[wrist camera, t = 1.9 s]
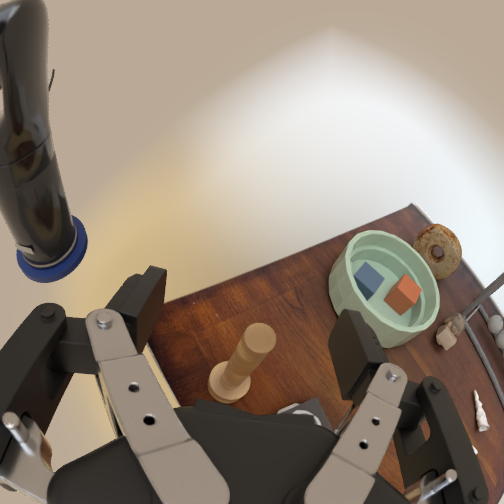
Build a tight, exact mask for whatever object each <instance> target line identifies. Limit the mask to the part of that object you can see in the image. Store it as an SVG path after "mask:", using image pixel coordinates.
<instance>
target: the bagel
mask: <svg viewBox="0 0 504 504" xmlns="http://www.w3.org/2000/svg"><path fill="white" fill-rule="evenodd" d="M435 246H439V247H441V248H442V250H443V255H442V256H441V257H438V256H436V255H435V254H434V250H433V249H434V247H435ZM413 249H414V250H416V251H417V252H418V253H419V254H420V255H421V257H422V258H423V259H424V261H425V262H426V263H427V265H428V266H429V268H430V270H431V272H432V274H433V276H434V278H435V279H436V280H440V279H445V278H447V277H448V276H450V275H451V274H452V273H453V272H454V271H455V270H456V269H457V267H458V265H459V263H460V260H461V256H462V250H461V245H460V243H459V240H458V238H457V237H456V236H455V234H454V233H453V232H452V231H451V230H449V229H448V228H446V227H445V226H442V225H440V224H433V225H430V226H427V227H426V228H425V229H424V230H423V231H422V232H421V233H420V234H419V235H418V236H417V238H416V240H415V242H414V245H413Z"/></svg>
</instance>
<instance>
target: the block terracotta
mask: <svg viewBox="0 0 504 504" xmlns="http://www.w3.org/2000/svg"><path fill="white" fill-rule="evenodd" d="M421 291H422V289H421V288H420V287H419V286H418V285H417V284H416V283H415V282H414V281H413V280H412V279H411V278H410V277H409V276H407V275H406V274H404V275H403V276H402V277H401V278H400V279H399V280H398V281H397V282H396V283H395V284H394V285H393V286H392V287H391V289H390V291H389V292H388V294H387V295H386V297H385V299H384V301H385V302H386V303H387V304H388V305H389V306H390V307H391V308H392V309H393V310H394V311H395V312H396V313H398V314H399V315H400V316H401V315H402V314H404V313H405V312H406V311H407V310H409V309H410V308H411V307H412V306H413V305H415V303H416V301H417V299H418V297H419V295H420V293H421Z"/></svg>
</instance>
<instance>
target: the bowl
mask: <svg viewBox="0 0 504 504" xmlns="http://www.w3.org/2000/svg"><path fill="white" fill-rule="evenodd" d="M365 261H366V262H367V263H368V264H369V265H370V266H372V267H373V268H374V269H375V270H376V271H377V272H378V273H379V274H381V275H382V276H383V277H384V278H385V279H384V281H383V282H382V284H381V285H380V287H379V288H378V289H377V291H376V292H375V294H374V295H373V296H372V297H371V298H370V299H369V300H368V301H367V300H366V299H365V297H364V296H363V295H362V293H361V292H360V290H359V289H358V287H357V284H356V281H355V279H354V274H355V273H356V272H357V271H358V270H359V268H360V267H361V266H362V265H363V264H364V262H365ZM404 274H406V275H407V276H409V277H410V278H411V279H412V280H413V281H414V282H415V283H416V284H417V285H418V286H419V287H420V288H421V289H422V291H421V293H420V295H419V297H418V299H417V301H416V303H415V305H413V306H412V307H411V308H410V309H409V310H407V311H406V312H405V313H404V314H402V315H401V316H400V315H399V314H398V313H396V312H395V311H394V310H393V309H392V308H391V307H390V306H389V305H388V304H387V303H386V302H385V301H384V299H385V297H386V295H387V294H388V292H389V291H390V289H391V287H392V286H393V285H394V284H395V283H396V282H397V281H398V280H399V279H400V278H401V277H402V276H403V275H404ZM329 295H330V298H331V301H332V304H333V307H334V310H335V311H336V313H337V314H338V316H339V315H340V313H341V311H342V310H343V309H350V310H355V311H359V312H360V313H361V315H362V317H363V319H364V321H365V323H367V324H368V325H369V326H370V327H371V328H372V329H373V330H374V331H375V333H376V335H377V337H378V338H377V339H378V340H379V342H380V345H381V346H382V347H383V348H393V347H396V346H400V345H403V344H404V343H406V342H407V341H409V340H411V339H412V338H414V337H415V336H417V335H418V334H419V333H421V332H422V331H424V330H425V329H427V328H428V327H429V326H430V325H431V324H432V323H433V322H434V321H435V318H436V316H437V313H438V311H439V291H438V287H437V283H436V280H435V278H434V276H433V274H432V272H431V270H430V268H429V266H428V265H427V263H426V262H425V261H424V259H423V258H422V257H421V255H420V254H419V253H418V252H417V251H416V250H414V249H413V248H412V247H411V246H410V245H409V244H408V243H406V242H405V241H403V240H402V239H400V238H398V237H397V236H395V235H392V234H389V233H386V232H383V231H375V230H368V231H365V232H362V233H359V234H357V235H356V236H355V237H354V238H353V239H352V240H351V241H350V242H349V243H348V245H347V246H346V247H345V249H344V250H343V252H342V253H341V254H340V256H339V257H338V259H337V260H336V261H335V263H334V264H333V266H332V269H331V272H330V275H329Z"/></svg>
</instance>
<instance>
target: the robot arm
mask: <svg viewBox="0 0 504 504" xmlns="http://www.w3.org/2000/svg"><path fill="white" fill-rule="evenodd" d="M48 21H49V19H48V12H47V7H46V5H45V2H44V1H43V0H11V1H9V2H6V3H3V4H1V5H0V90H2V94H3V110H2V111H1V112H0V212H1V214H2V216H3V218H4V220H5V222H6V224H7V226H8V228H9V230H10V232H11V234H12V236H13V238H14V240H15V242H16V244H15V245H16V247H17V249H18V250H20V251H21V253H22V255H23V257H24V259H25V261H26V262H27V264H28V265H30V266H31V267H33V268H35V269H39V270H46V269H50V268H53V267H56V266H58V265H60V264H61V263H63V262H64V261H65V260H66V259H67V258H68V257H69V256H70V255H71V254H72V252H73V251H74V249H75V247H76V244H77V240H78V233H77V230H76V227H75V224H74V223H73V219H72V216H71V213H70V209H69V206H68V202H67V199H66V195H65V192H64V188H63V184H62V180H61V176H60V172H59V168H58V163H57V159H56V154H55V150H54V146H53V140H52V134H51V129H50V122H49V91H50V88H51V84H52V81H53V77H54V71H55V70H53V73H52V78H51V81H50V84H49V87H48V67H47V63H48V59H47V58H48V34H49V22H48ZM166 277H167V270H166V269H162V268H158V267H154V266H149V268H148V269H147V270H146V272H145V273H144V274H143V275H140V274H135V275H133V276H131V277H129V278H127V280H126V281H125V282H124V283H123V286H121V287H120V289H119V290H118V292H117V293H116V294H115V295H114V296H113V298H112V299H111V300H110V302H109V303H108V304H107V306H106V307H105V308H104V309H97V310H94V311H92V312H90V313H89V314H88V315H87V317H86V318H73V317H66V315H65V310H64V309H63V307H61V306H60V305H58V304H55V303H44V304H41V305H39V306H37V307H36V308H35V309H34V310H33V311H32V312H31V313H30V315H29V316H28V317H27V318H26V319H25V320H24V321H23V323H22V324H21V325H20V326H19V327H18V329H17V330H16V331H15V332H14V334H13V335H12V336H11V338H10V339H9V340H8V341H7V343H6V344H5V345H4V347H3V348H2V349H1V350H0V485H1V486H2V487H3V488H5V489H7V490H9V491H19V492H20V493H22V494H24V495H26V496H28V497H29V498H31V499H33V500H35V501H37V502H39V503H41V504H487V503H488V499H489V492H488V489H487V485H486V482H485V479H484V476H483V473H482V471H481V468H480V465H479V462H478V460H477V457H476V454H475V452H474V449H473V447H472V444H471V442H470V439H469V437H468V434H467V432H466V430H465V427H464V425H463V423H462V420H461V418H460V416H459V414H458V411H457V409H456V407H455V405H454V403H453V401H452V399H451V396H450V394H449V392H448V390H447V388H446V386H445V385H444V384H443V383H442V382H441V381H440V380H439V379H437V378H435V377H432V376H428V377H425V378H424V379H423V381H422V382H421V383H420V384H418V383H415V382H412V381H408V380H407V375H406V374H405V372H404V371H403V370H402V369H401V368H400V367H398V366H397V365H395V364H392V363H389V361H388V358H387V356H386V354H385V352H384V350H383V348H382V346H381V345H380V342H379V340H378V339H377V338H378V337H377V335H376V333H375V331H374V330H373V329H372V328H371V327H370V326H369V325H368V324H367V323H365V321H364V319H363V317H362V315H361V313H360V312H359V311H355V310H350V309H343V310H342V311H341V313H340V315H339V318H338V320H337V322H336V324H335V326H334V328H333V330H332V332H331V334H330V337H329V342H328V346H329V350H330V354H331V358H332V361H333V365H334V369H335V373H336V376H337V380H338V384H339V388H340V392H341V396H342V400H353V405H352V406H351V407H350V408H349V410H348V412H347V413H346V415H345V416H344V418H343V419H342V421H341V422H340V424H339V425H338V427H337V428H336V430H335V431H334V432H332V431H331V430H329V429H327V428H325V427H323V426H320V425H318V424H315V419H314V415H305V414H293V413H281V414H271V415H253V414H250V413H248V412H245V411H242V410H239V409H237V408H234V407H232V406H229V405H226V404H222V403H216V402H211V401H207V400H202V399H197V398H196V400H195V404H194V406H187V407H178V408H174V409H173V408H172V407H171V405H170V403H169V401H168V399H167V397H166V396H165V394H164V392H163V390H162V389H161V386H160V385H159V383H158V381H157V379H156V377H155V375H154V373H153V371H152V369H151V367H150V365H149V363H148V361H147V359H146V357H145V356H144V354H142V352H143V350H144V347H145V345H146V343H147V341H148V339H149V337H150V335H151V332H152V330H153V328H154V326H155V324H156V322H157V320H158V318H159V316H160V314H161V311H162V308H163V304H164V297H165V286H166ZM74 373H83V374H94V375H95V378H96V382H97V385H98V387H99V391H100V394H101V396H102V400H103V403H104V405H105V408H106V411H107V414H108V417H109V420H110V423H111V426H112V429H113V431H114V434H115V436H116V439H114V440H113V441H111V442H109V443H107V444H105V445H103V446H102V447H100V448H98V449H96V450H94V451H92V452H90V453H88V454H86V455H84V456H82V457H80V458H78V459H76V460H74V461H72V462H70V463H68V464H66V465H64V466H62V467H61V468H60V469H58V470H57V471H56V472H53V471H52V468H51V457H52V449H51V446H50V444H49V442H48V441H47V439H46V438H45V433H46V431H47V429H48V427H49V424H50V422H51V420H52V418H53V415H54V413H55V411H56V409H57V406H58V405H59V403H60V401H61V398H62V396H63V394H64V392H65V390H66V388H67V386H68V384H69V382H70V380H71V378H72V376H73V374H74ZM426 419H427V422H428V425H429V427H430V437H429V439H428V440H427V442H426V441H425V438H424V435H423V432H422V429H421V426H420V425H421V424H422V423H423V422H424V421H425V420H426ZM392 436H393V440H394V444H395V448H396V452H397V456H398V460H399V464H400V469H401V473H402V477H403V482H404V487H405V492H404V495H402V494H401V493H400V492H399V491H398V490H397V489H395V488H394V487H393V486H392V485H391V484H390V483H389V482H388V481H386V480H385V479H384V478H383V477H382V476H381V475H380V474H379V473H377V472H376V471H377V469H378V467H379V465H380V463H381V461H382V458H383V456H384V454H385V452H386V450H387V447H388V445H389V443H390V440H391V438H392Z"/></svg>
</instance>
